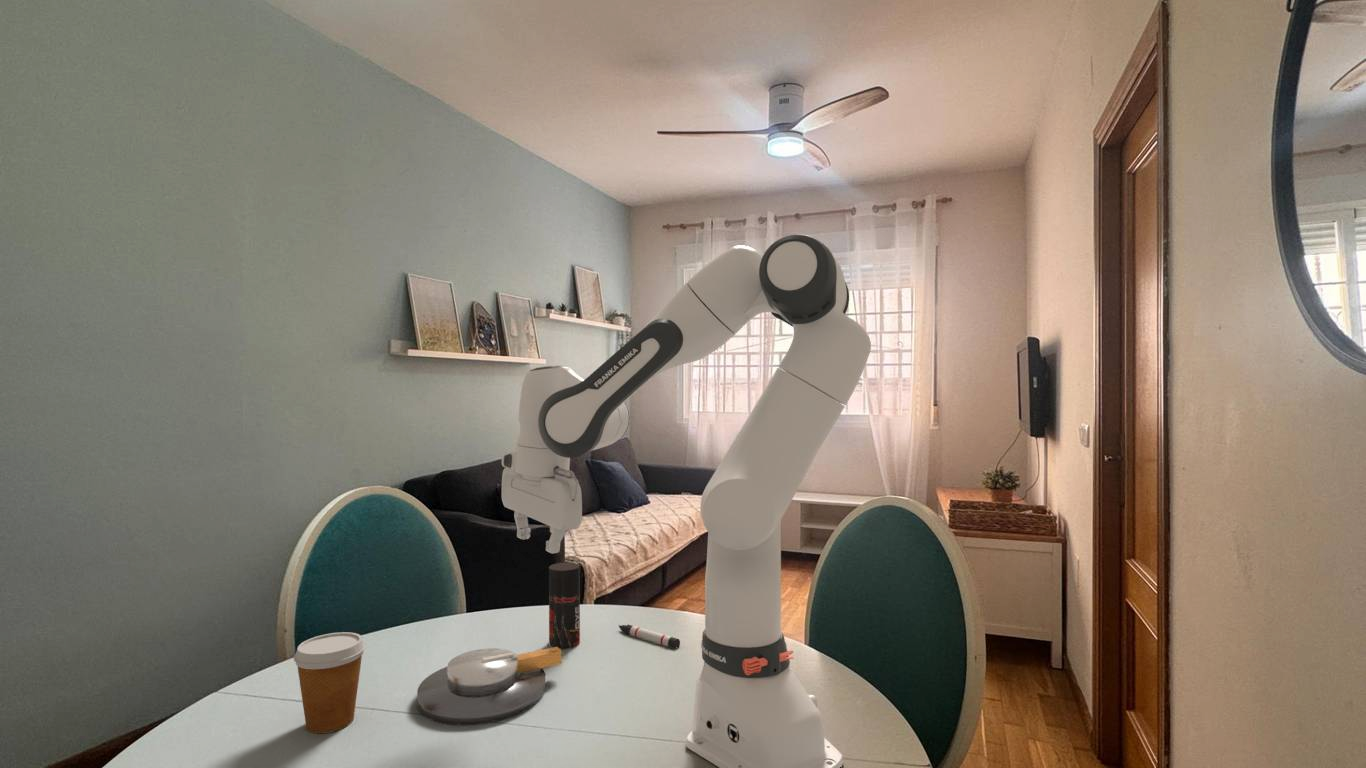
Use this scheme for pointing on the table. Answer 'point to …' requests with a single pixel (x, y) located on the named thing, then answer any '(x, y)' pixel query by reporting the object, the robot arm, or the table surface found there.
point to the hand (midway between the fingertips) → (537, 545)
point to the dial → (494, 669)
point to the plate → (478, 699)
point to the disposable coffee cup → (329, 679)
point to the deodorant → (564, 605)
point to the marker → (650, 636)
